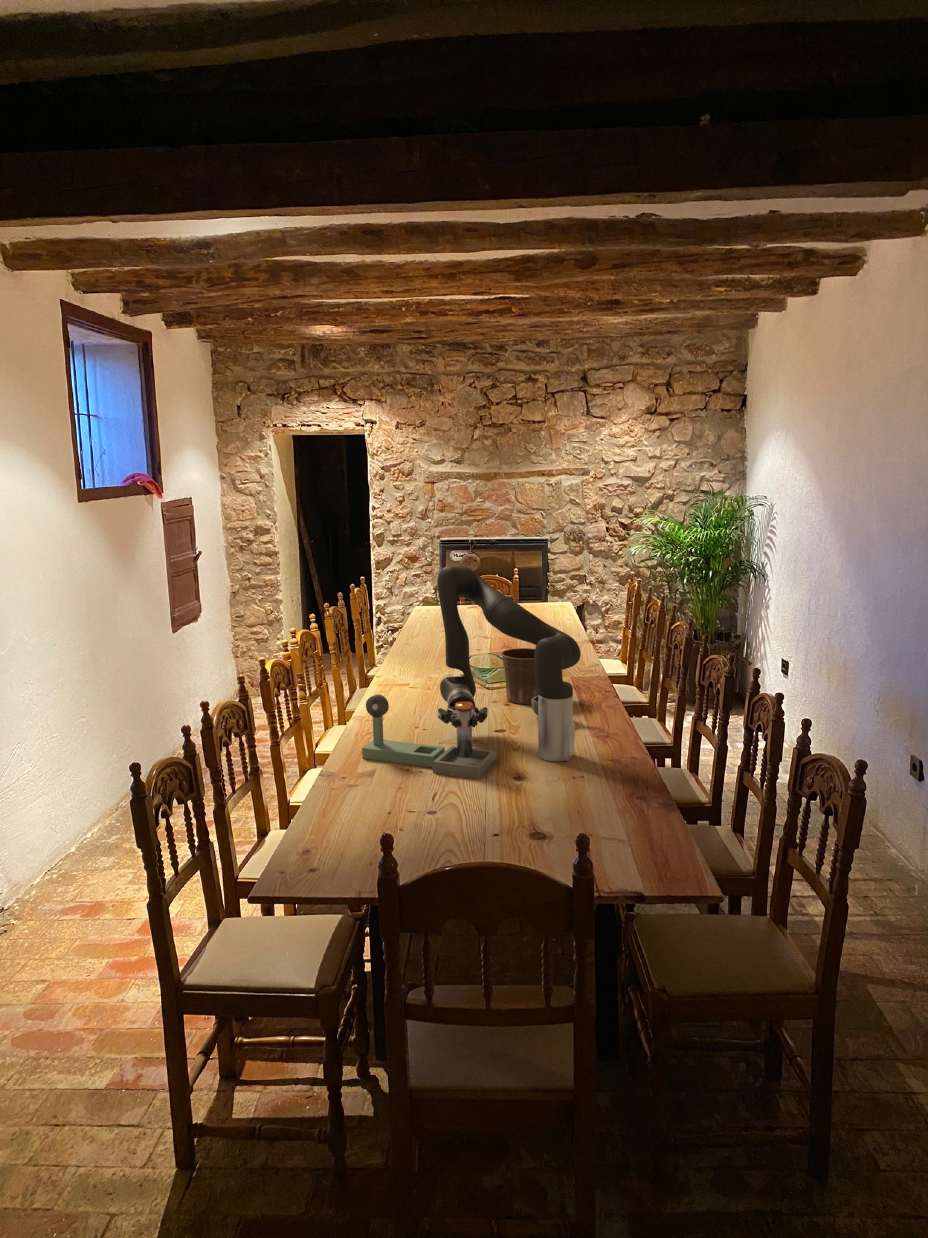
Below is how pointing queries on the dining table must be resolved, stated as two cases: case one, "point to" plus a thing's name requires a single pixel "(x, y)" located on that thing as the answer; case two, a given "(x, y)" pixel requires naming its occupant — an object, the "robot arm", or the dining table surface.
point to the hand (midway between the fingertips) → (465, 723)
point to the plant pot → (520, 675)
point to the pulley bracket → (395, 749)
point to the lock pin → (464, 729)
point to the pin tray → (465, 763)
